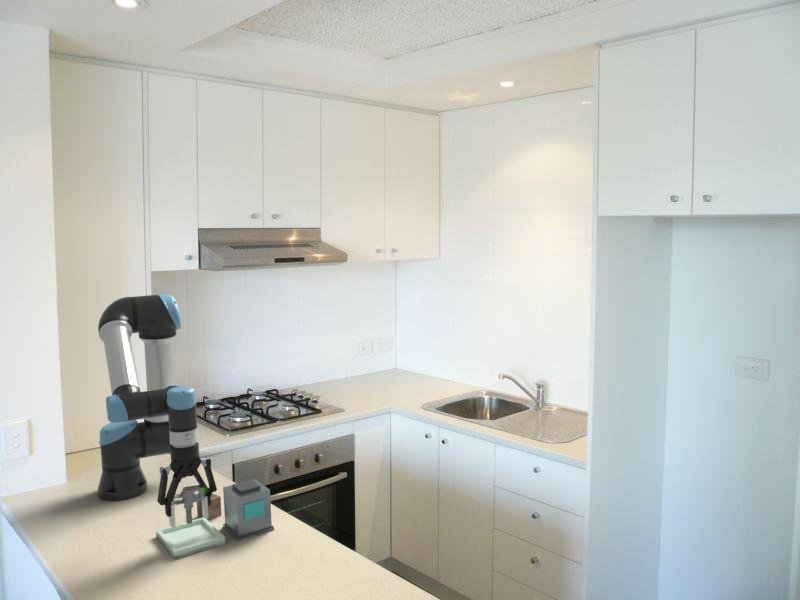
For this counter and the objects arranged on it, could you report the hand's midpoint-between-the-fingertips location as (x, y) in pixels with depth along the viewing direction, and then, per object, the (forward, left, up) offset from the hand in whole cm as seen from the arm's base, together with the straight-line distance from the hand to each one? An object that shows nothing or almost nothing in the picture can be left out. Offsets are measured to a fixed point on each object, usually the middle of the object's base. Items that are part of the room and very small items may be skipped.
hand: (189, 521), depth 197 cm
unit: (+3, +16, -5) cm, 17 cm away
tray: (0, 0, -5) cm, 5 cm away
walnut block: (-12, +10, -6) cm, 17 cm away
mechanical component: (0, 0, 0) cm, 0 cm away
